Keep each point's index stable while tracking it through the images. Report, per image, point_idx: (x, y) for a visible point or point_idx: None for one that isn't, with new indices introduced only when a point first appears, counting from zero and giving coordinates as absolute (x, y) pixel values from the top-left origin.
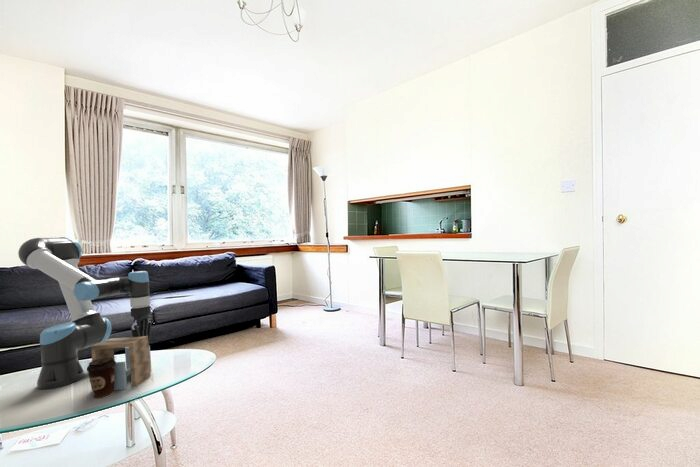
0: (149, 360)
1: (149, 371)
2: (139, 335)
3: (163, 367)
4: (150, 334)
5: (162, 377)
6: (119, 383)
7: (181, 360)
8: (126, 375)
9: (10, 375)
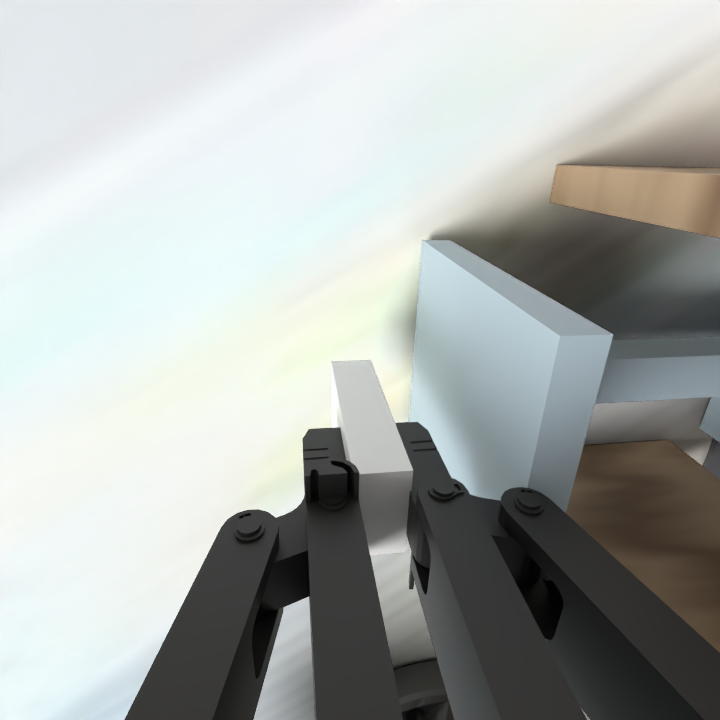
0: (686, 173)
1: (609, 167)
2: (706, 685)
3: (296, 179)
4: (182, 638)
5: (621, 3)
6: None
7: (54, 45)
8: (652, 342)
9: None
